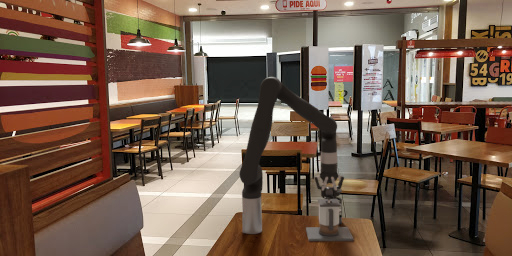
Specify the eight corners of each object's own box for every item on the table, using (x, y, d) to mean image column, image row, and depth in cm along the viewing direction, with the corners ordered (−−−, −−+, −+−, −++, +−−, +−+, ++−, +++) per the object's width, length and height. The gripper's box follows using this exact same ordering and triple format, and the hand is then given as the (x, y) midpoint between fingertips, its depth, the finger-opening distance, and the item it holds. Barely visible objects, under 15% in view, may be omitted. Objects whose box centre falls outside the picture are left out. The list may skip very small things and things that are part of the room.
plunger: (324, 220, 186) (324, 189, 184) (323, 217, 190) (323, 186, 188) (334, 220, 186) (334, 188, 184) (332, 217, 190) (332, 186, 188)
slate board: (308, 241, 182) (308, 238, 182) (306, 229, 196) (306, 227, 196) (353, 240, 182) (353, 238, 181) (347, 229, 195) (347, 227, 195)
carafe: (320, 239, 181) (320, 207, 180) (317, 228, 194) (317, 199, 192) (341, 238, 181) (342, 207, 179) (337, 228, 193) (337, 198, 191)
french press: (343, 219, 209) (343, 176, 206) (344, 225, 200) (344, 180, 197) (320, 218, 211) (320, 175, 208) (320, 225, 202) (320, 180, 199)
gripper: (314, 163, 181) (314, 200, 183) (346, 163, 181) (346, 200, 183) (312, 160, 189) (312, 195, 191) (343, 159, 188) (343, 195, 190)
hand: (328, 197), depth 187 cm, fingers closed on plunger, 4 cm apart
